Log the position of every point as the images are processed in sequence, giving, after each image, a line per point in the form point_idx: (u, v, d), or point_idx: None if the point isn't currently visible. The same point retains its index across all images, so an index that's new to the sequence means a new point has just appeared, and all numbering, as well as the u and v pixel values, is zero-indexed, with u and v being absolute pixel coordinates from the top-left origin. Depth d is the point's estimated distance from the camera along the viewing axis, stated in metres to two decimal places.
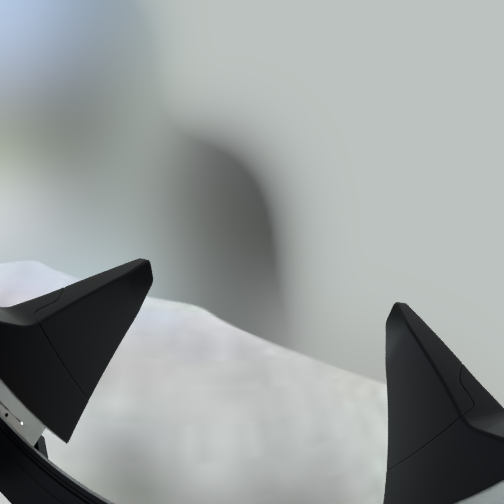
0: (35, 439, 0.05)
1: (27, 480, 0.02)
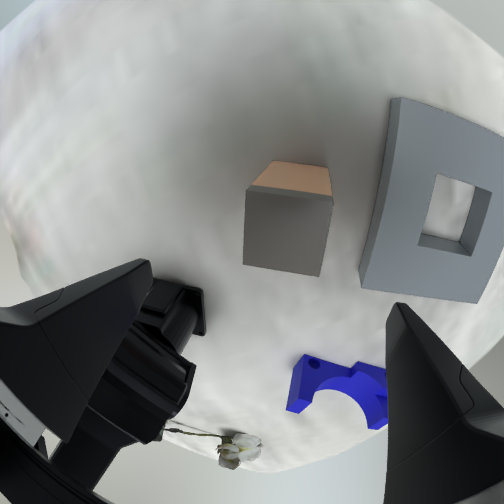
0: (34, 439, 0.05)
1: (27, 480, 0.02)
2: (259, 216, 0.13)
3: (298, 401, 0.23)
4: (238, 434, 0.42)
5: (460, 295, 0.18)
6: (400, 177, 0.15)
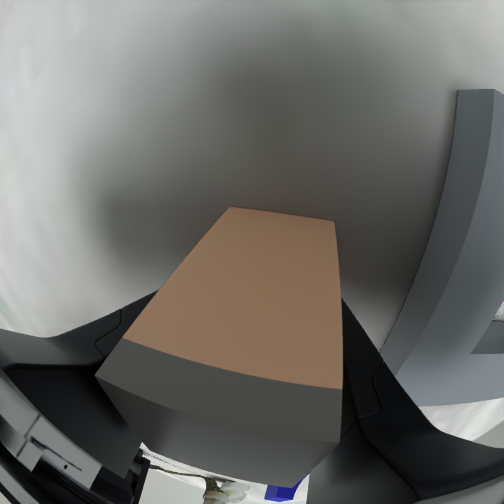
0: (90, 481, 0.04)
1: (27, 480, 0.02)
2: (145, 421, 0.04)
3: (277, 497, 0.15)
4: (227, 482, 0.34)
5: (502, 392, 0.09)
6: (475, 256, 0.06)
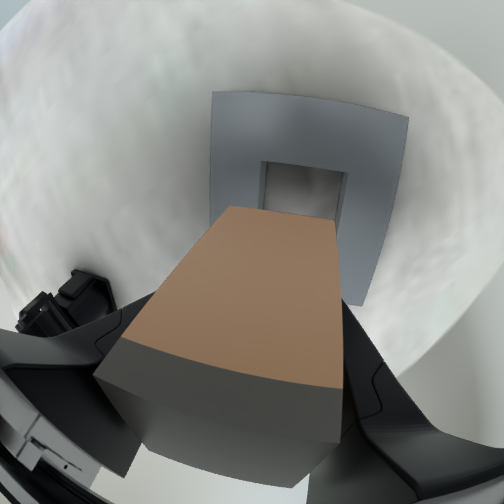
0: (90, 481, 0.04)
1: (27, 480, 0.02)
2: (144, 421, 0.04)
3: None
4: None
5: None
6: (220, 170, 0.17)
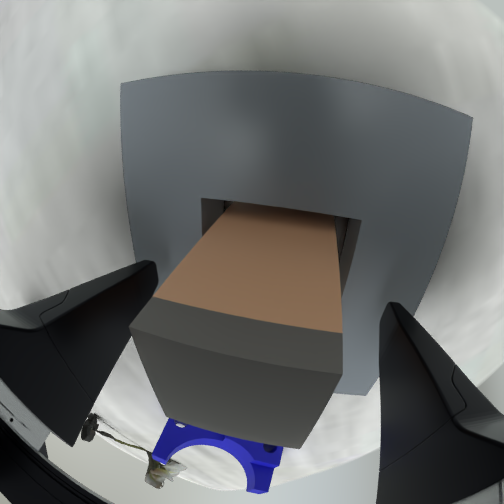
0: (39, 444, 0.05)
1: (27, 480, 0.02)
2: (170, 373, 0.05)
3: (154, 456, 0.20)
4: (173, 462, 0.39)
5: None
6: (141, 214, 0.10)
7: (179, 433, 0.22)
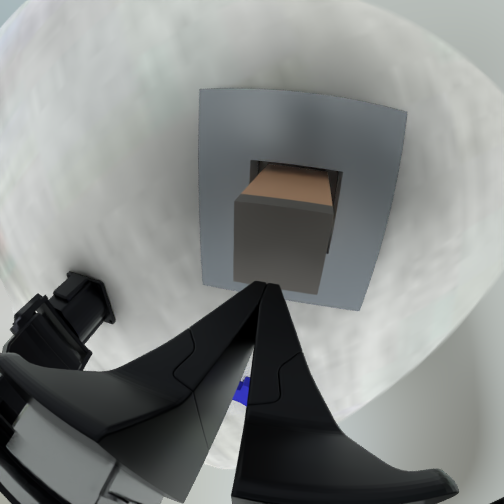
0: None
1: (27, 480, 0.02)
2: (250, 229, 0.12)
3: None
4: None
5: (329, 299, 0.19)
6: (208, 171, 0.16)
7: None
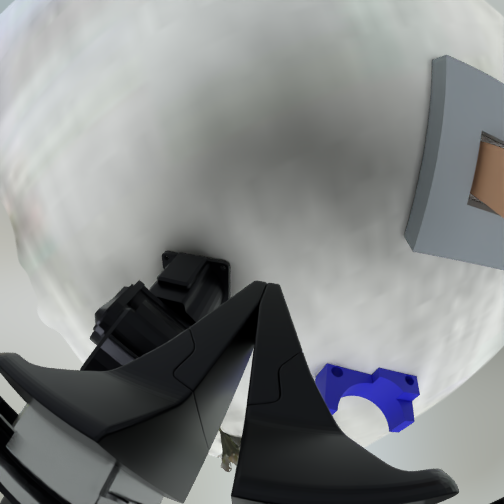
0: None
1: (27, 480, 0.02)
2: None
3: None
4: None
5: (503, 262, 0.15)
6: (450, 131, 0.12)
7: (339, 382, 0.25)
